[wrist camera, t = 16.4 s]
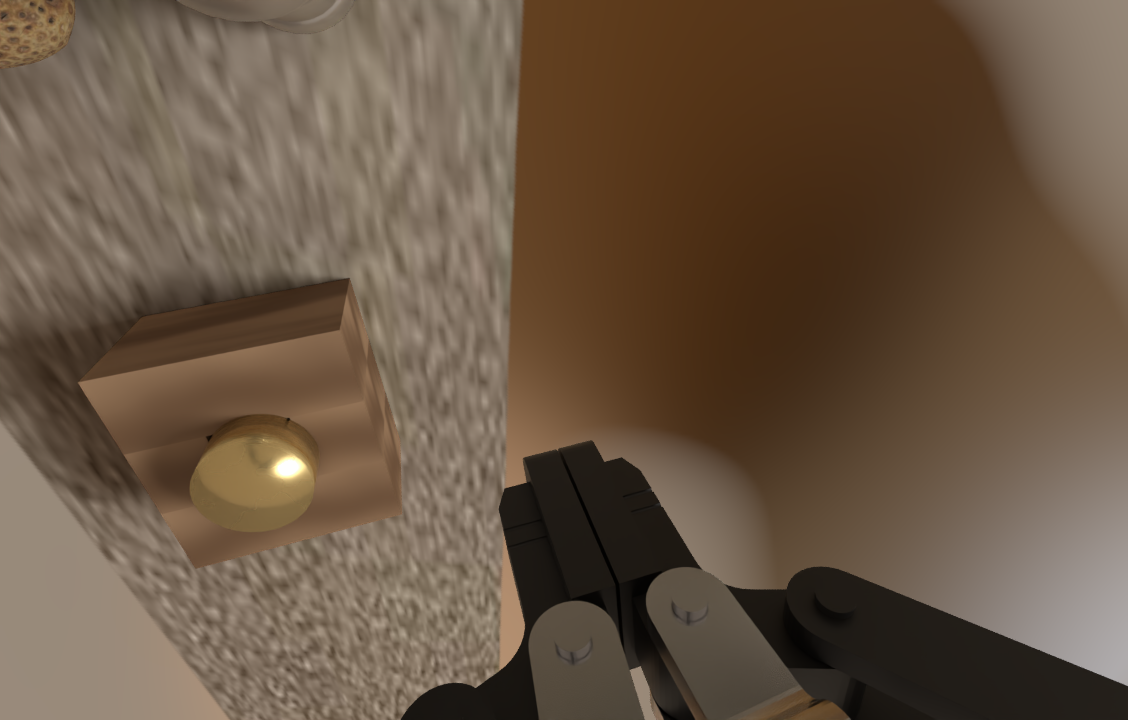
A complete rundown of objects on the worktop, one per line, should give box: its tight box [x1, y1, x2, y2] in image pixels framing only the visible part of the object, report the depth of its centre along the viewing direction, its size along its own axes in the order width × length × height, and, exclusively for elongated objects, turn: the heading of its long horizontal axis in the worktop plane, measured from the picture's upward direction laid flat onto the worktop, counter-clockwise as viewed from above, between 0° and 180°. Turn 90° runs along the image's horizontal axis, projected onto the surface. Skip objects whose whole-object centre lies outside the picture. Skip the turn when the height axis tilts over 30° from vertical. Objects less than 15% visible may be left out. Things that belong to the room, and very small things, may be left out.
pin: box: [190, 414, 320, 532], centre depth 32 cm, size 6×6×10 cm
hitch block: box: [78, 278, 402, 568], centre depth 34 cm, size 13×12×8 cm
